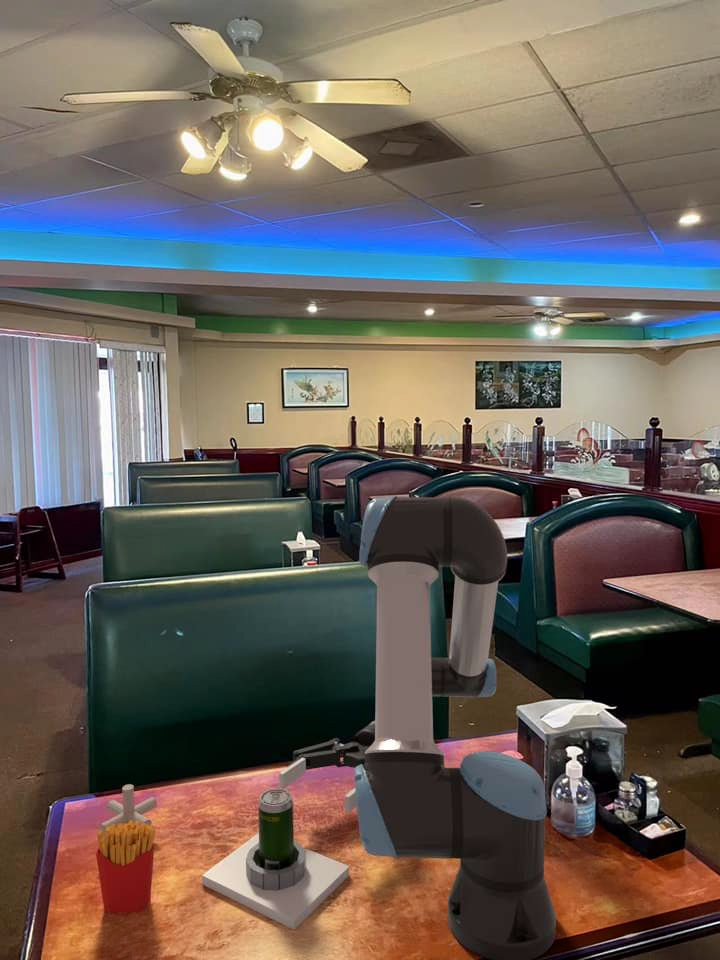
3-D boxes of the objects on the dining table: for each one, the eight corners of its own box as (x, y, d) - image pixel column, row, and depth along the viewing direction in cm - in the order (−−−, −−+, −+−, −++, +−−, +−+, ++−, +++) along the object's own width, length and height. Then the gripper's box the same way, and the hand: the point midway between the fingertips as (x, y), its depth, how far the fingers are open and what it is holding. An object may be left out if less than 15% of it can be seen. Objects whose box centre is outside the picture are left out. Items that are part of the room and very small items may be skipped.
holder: (349, 875, 111) (349, 851, 110) (294, 930, 99) (294, 903, 98) (261, 838, 120) (261, 816, 120) (202, 884, 108) (201, 860, 108)
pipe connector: (122, 870, 112) (119, 810, 111) (86, 847, 118) (84, 790, 117) (173, 839, 120) (171, 783, 119) (137, 819, 126) (135, 766, 125)
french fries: (95, 914, 102) (92, 836, 101) (104, 896, 106) (101, 820, 105) (154, 912, 102) (152, 834, 101) (161, 894, 106) (158, 818, 105)
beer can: (292, 881, 107) (291, 806, 106) (257, 882, 107) (256, 807, 106) (295, 859, 112) (294, 787, 111) (261, 860, 112) (260, 788, 111)
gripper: (437, 779, 128) (377, 837, 110) (326, 745, 142) (256, 792, 124) (437, 739, 128) (376, 792, 110) (325, 709, 141) (255, 751, 123)
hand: (312, 792), depth 117 cm, fingers open, 13 cm apart
